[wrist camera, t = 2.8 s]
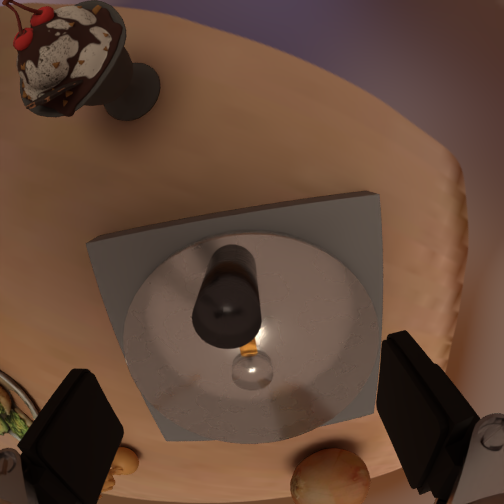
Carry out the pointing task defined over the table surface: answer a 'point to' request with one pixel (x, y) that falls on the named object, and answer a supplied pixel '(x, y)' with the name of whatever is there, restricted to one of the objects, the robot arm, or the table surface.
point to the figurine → (121, 466)
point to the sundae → (80, 63)
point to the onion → (330, 478)
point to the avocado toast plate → (13, 409)
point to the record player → (251, 337)
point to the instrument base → (252, 218)
